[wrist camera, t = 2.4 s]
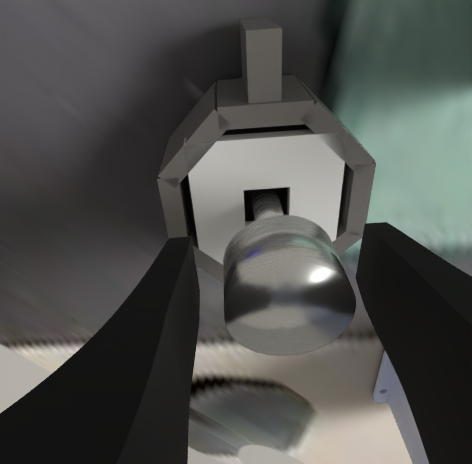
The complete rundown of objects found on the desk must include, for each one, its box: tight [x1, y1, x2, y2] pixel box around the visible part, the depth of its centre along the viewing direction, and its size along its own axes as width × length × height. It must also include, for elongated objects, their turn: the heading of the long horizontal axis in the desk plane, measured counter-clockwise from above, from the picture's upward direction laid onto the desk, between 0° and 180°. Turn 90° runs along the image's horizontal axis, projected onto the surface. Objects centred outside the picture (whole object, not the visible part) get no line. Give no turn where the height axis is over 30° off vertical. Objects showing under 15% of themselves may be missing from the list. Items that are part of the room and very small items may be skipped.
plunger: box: [223, 188, 356, 356], centre depth 11 cm, size 3×3×6 cm
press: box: [157, 17, 376, 283], centre depth 14 cm, size 9×7×4 cm
